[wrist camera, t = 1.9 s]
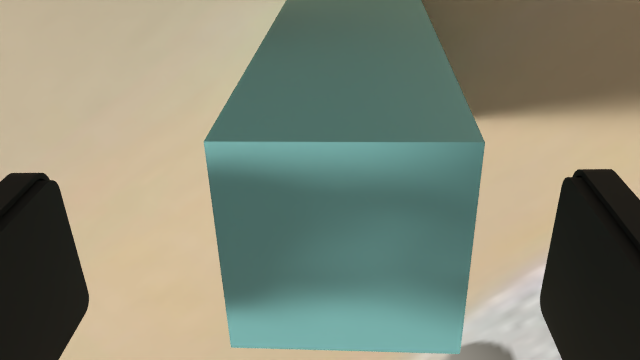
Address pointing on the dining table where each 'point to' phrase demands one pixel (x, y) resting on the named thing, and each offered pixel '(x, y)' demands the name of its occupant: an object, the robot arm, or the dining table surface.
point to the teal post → (346, 184)
